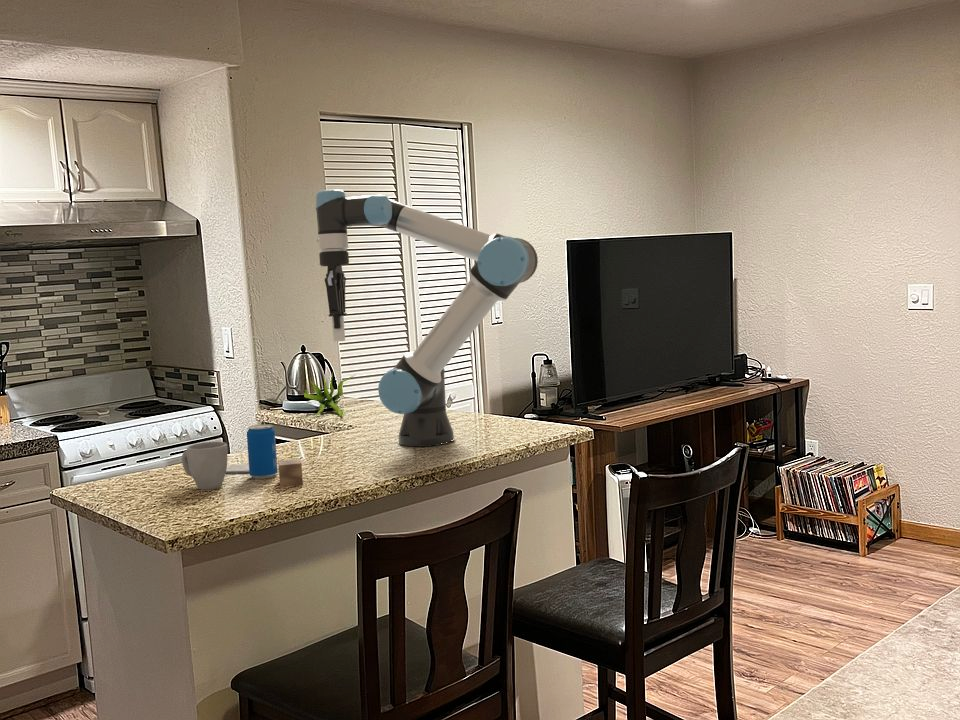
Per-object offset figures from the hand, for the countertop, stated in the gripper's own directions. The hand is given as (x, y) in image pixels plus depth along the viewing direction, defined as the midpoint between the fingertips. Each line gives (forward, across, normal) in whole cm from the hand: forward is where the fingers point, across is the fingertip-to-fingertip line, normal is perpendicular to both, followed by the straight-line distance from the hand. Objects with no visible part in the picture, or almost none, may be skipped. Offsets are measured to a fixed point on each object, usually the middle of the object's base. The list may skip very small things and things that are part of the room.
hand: (339, 340), depth 241 cm
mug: (+30, +37, -24) cm, 53 cm away
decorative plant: (+30, -65, -20) cm, 74 cm away
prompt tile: (+29, +20, -21) cm, 41 cm away
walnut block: (+30, +36, -4) cm, 47 cm away
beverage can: (+30, +28, -13) cm, 43 cm away
